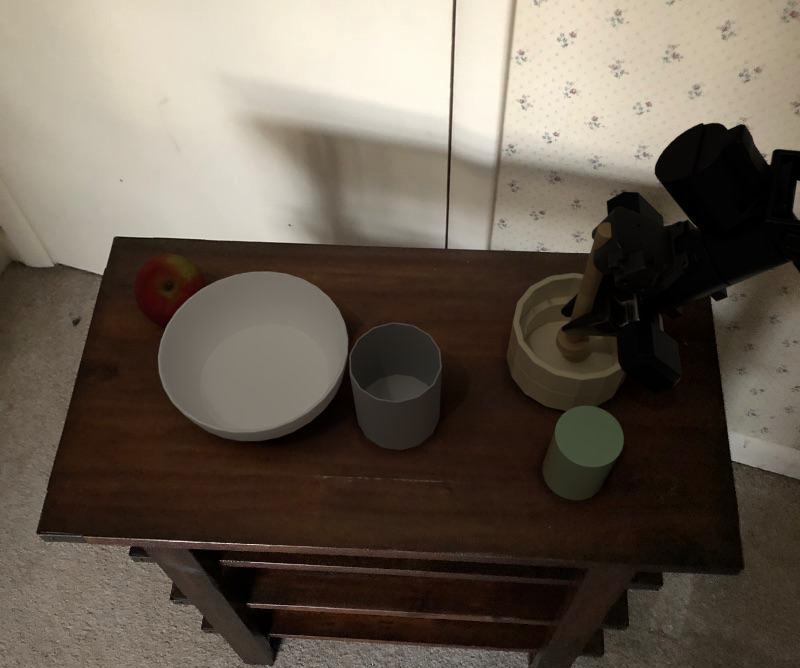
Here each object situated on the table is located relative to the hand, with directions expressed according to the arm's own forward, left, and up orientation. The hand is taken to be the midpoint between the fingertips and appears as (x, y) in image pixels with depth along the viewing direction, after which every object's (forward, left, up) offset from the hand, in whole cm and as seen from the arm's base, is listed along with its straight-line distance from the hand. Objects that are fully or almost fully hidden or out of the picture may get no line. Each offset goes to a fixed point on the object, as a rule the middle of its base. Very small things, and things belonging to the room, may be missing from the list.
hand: (563, 322), depth 74 cm
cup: (+17, -3, -7) cm, 19 cm away
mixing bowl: (-1, +1, -7) cm, 7 cm away
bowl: (+27, -13, -7) cm, 31 cm away
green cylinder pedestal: (+6, +11, -7) cm, 14 cm away
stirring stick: (-1, +1, -4) cm, 4 cm away
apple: (+31, -26, -7) cm, 41 cm away
